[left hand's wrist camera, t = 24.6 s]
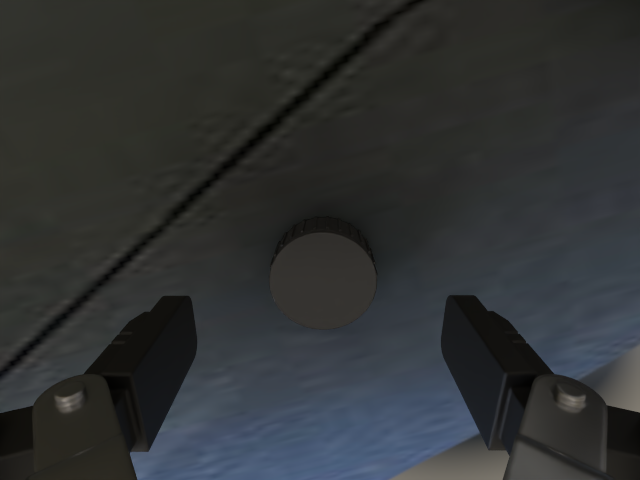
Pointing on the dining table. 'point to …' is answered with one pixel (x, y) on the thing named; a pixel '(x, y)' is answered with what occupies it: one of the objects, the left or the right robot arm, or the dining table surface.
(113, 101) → the dining table surface
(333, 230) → the lid
